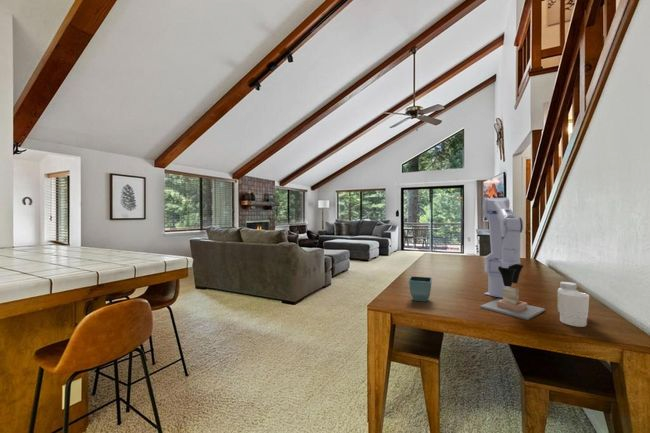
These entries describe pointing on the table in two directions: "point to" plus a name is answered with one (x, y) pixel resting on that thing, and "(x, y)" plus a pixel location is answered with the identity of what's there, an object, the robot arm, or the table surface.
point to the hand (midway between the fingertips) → (510, 284)
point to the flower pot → (420, 288)
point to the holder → (513, 309)
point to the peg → (510, 295)
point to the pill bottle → (566, 286)
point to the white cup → (573, 307)
